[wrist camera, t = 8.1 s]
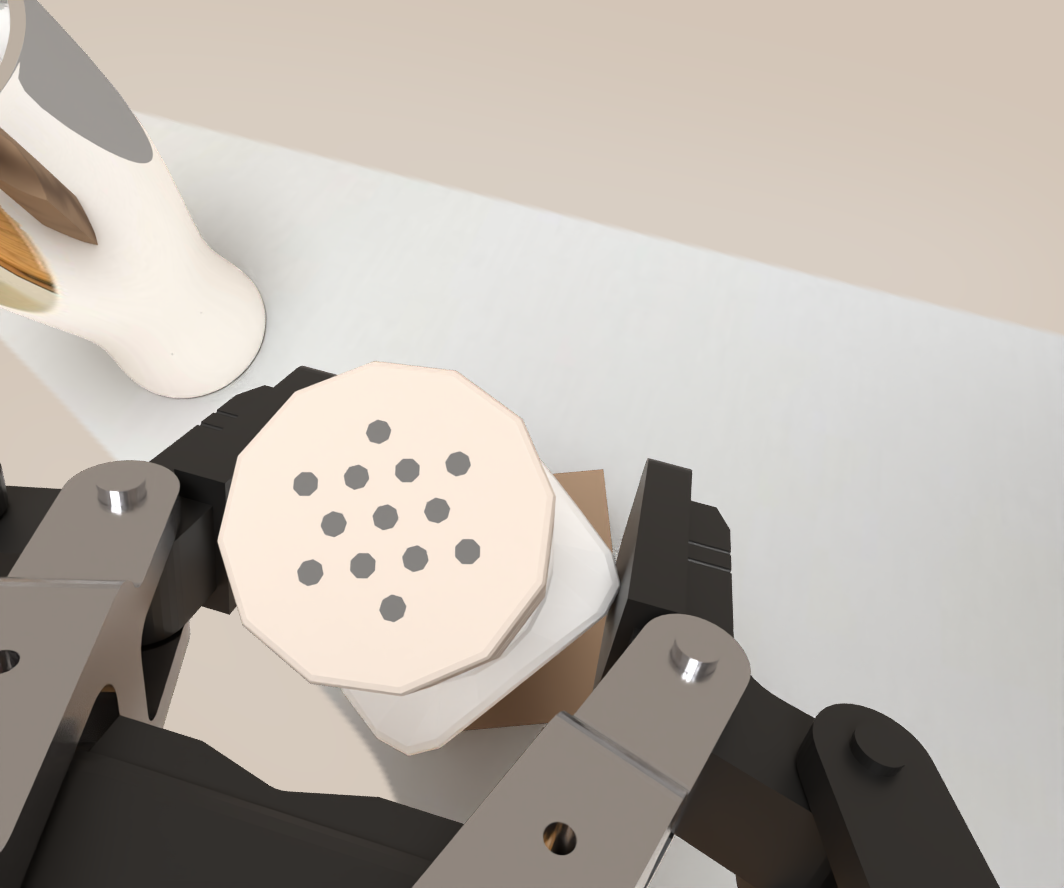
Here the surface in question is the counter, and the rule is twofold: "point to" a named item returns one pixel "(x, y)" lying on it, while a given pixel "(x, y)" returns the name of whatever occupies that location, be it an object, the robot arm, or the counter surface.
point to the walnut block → (576, 665)
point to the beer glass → (107, 224)
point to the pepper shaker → (409, 549)
